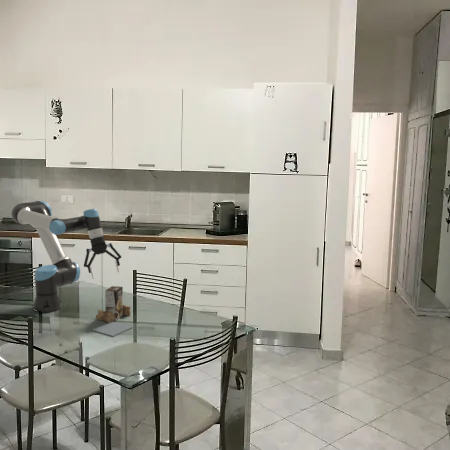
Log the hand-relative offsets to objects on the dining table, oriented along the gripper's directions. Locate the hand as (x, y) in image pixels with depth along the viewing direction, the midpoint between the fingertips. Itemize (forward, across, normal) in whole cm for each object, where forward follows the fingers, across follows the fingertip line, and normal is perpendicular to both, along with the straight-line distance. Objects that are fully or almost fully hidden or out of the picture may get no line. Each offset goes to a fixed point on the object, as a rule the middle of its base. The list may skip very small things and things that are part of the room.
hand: (106, 275), depth 274 cm
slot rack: (+23, -1, -2) cm, 23 cm away
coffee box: (+23, -1, -2) cm, 23 cm away
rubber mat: (+26, -1, -18) cm, 32 cm away
